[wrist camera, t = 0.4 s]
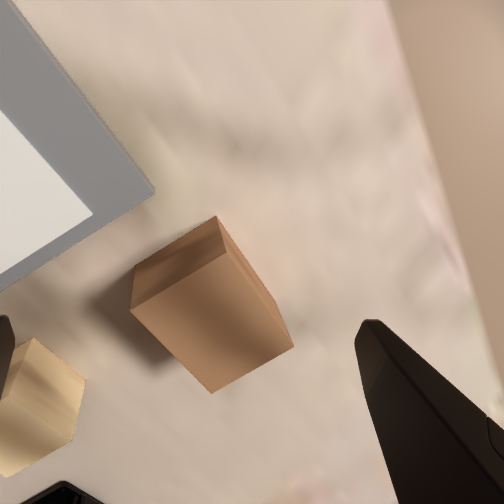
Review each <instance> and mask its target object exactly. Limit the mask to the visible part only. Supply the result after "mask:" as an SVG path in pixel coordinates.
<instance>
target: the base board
mask: <svg viewBox="0 0 504 504" xmlns="http://www.w3.org/2000/svg"><path fill="white" fill-rule="evenodd" d="M154 189H155V188H154V187H153V185H152V184H151V183H150V181H149V180H148V179H147V177H146V176H145V175H144V173H143V172H142V171H141V170H140V168H139V167H138V166H137V164H136V163H135V162H134V160H133V159H132V158H131V156H130V155H129V154H128V152H127V151H126V150H125V149H124V147H123V146H122V145H121V143H120V142H119V141H118V139H117V138H116V137H115V135H114V134H113V133H112V131H111V130H110V129H109V127H108V126H107V125H106V124H105V122H104V121H103V120H102V118H101V117H100V116H99V114H98V113H97V112H96V110H95V109H94V108H93V106H92V105H91V104H90V103H89V101H88V100H87V99H86V97H85V96H84V95H83V93H82V92H81V91H80V89H79V88H78V87H77V85H76V84H75V83H74V82H73V80H72V79H71V78H70V76H69V75H68V74H67V72H66V71H65V70H64V68H63V67H62V66H61V64H60V63H59V62H58V61H57V59H56V58H55V57H54V55H53V54H52V53H51V51H50V50H49V49H48V47H47V46H46V45H45V43H44V42H43V41H42V39H41V38H40V37H39V36H38V34H37V33H36V32H35V30H34V29H33V28H32V26H31V25H30V24H29V22H28V21H27V20H26V18H25V17H24V16H23V15H22V13H21V12H20V11H19V9H18V8H17V7H16V5H15V4H14V3H13V1H12V0H0V292H1V291H2V290H4V289H5V288H7V287H9V286H10V285H12V284H13V283H15V282H16V281H18V280H20V279H21V278H23V277H24V276H26V275H27V274H29V273H31V272H32V271H34V270H35V269H37V268H38V267H40V266H42V265H43V264H45V263H46V262H48V261H49V260H51V259H53V258H54V257H56V256H57V255H59V254H60V253H62V252H64V251H65V250H67V249H68V248H70V247H72V246H73V245H75V244H76V243H78V242H79V241H81V240H83V239H84V238H86V237H87V236H89V235H90V234H92V233H94V232H95V231H97V230H98V229H100V228H101V227H103V226H105V225H106V224H108V223H109V222H111V221H112V220H114V219H116V218H117V217H119V216H120V215H122V214H123V213H125V212H127V211H128V210H130V209H131V208H133V207H135V206H136V205H138V204H139V203H141V202H142V201H144V200H146V199H147V198H149V197H150V196H152V195H153V194H154Z"/></svg>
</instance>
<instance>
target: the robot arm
mask: <svg viewBox="0 0 504 504" xmlns="http://www.w3.org/2000/svg"><path fill="white" fill-rule="evenodd" d="M354 344H355V351H356V356H357V361H358V366H359V370H360V375H361V380H362V385H363V390H364V394H365V399H366V402H367V405H368V409H369V412H370V415H371V418H372V421H373V424H374V427H375V431H376V434H377V437H378V440H379V443H380V446H381V449H382V452H383V456H384V459H385V462H386V465H387V468H388V471H389V474H390V478H391V481H392V484H393V487H394V490H395V493H396V496H397V500H398V503H399V504H504V430H503V429H502V428H501V427H500V426H499V425H498V424H497V423H495V422H494V421H493V420H492V419H491V418H490V417H487V415H486V414H485V413H484V412H483V411H482V410H481V409H480V408H478V407H477V406H476V405H475V404H474V403H473V402H472V401H471V400H469V399H468V398H467V397H466V396H465V395H464V394H463V393H462V392H460V391H459V390H458V389H457V388H456V387H455V386H454V385H453V384H451V383H450V382H449V381H448V380H447V379H446V378H445V377H444V376H442V375H441V374H440V373H439V372H438V371H437V370H436V369H435V368H433V367H432V366H431V365H430V364H429V363H428V362H427V361H426V360H424V359H423V358H422V357H421V356H420V355H419V354H418V353H417V352H415V351H414V350H413V349H412V348H411V347H410V346H409V345H408V344H406V343H405V342H404V341H403V340H402V339H401V338H400V337H399V336H397V335H396V334H395V333H394V332H393V331H392V330H391V329H390V328H388V327H387V326H386V325H385V324H384V323H383V322H382V321H380V320H378V319H366V320H364V321H363V322H362V324H361V327H360V329H359V331H358V333H357V335H356V338H355V343H354ZM14 347H15V336H14V333H13V330H12V327H11V324H10V321H9V318H8V317H7V316H6V315H0V401H1V397H2V393H3V390H4V386H5V382H6V378H7V374H8V371H9V367H10V363H11V359H12V355H13V351H14ZM24 504H103V503H102V502H100V501H98V500H97V499H95V498H93V497H92V496H90V495H88V494H87V493H85V492H83V491H82V490H80V489H78V488H77V487H75V486H73V485H72V484H70V483H68V482H62V483H59V484H58V485H56V486H54V487H52V488H51V489H49V490H47V491H45V492H44V493H42V494H40V495H38V496H37V497H35V498H33V499H31V500H30V501H28V502H26V503H24Z"/></svg>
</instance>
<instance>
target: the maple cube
mask: <svg viewBox="0 0 504 504" xmlns="http://www.w3.org/2000/svg"><path fill="white" fill-rule="evenodd" d="M85 383H86V380H85V379H84V378H83V377H82V376H80V375H79V374H78V373H77V372H75V371H74V370H73V369H72V368H70V367H69V366H68V365H67V364H65V363H64V362H63V361H62V360H60V359H59V358H58V357H57V356H56V355H54V354H53V353H52V352H51V351H49V350H48V349H47V348H46V347H44V346H43V345H42V344H41V343H39V342H38V341H37V340H36V339H34V338H31V339H30V340H28V341H27V342H25V343H23V344H22V345H20V346H18V347H17V348H15V349H14V351H13V355H12V359H11V363H10V367H9V371H8V374H7V378H6V382H5V386H4V390H3V393H2V397H1V401H0V474H1V475H2V476H4V477H6V478H8V477H10V476H12V475H13V474H15V473H17V472H19V471H20V470H22V469H24V468H25V467H27V466H29V465H31V464H32V463H34V462H36V461H37V460H39V459H41V458H43V457H44V456H46V455H48V454H50V453H51V452H53V451H55V450H56V449H58V448H60V447H62V446H63V445H65V444H67V443H68V442H70V441H72V440H73V436H74V431H75V427H76V422H77V418H78V414H79V409H80V405H81V400H82V396H83V391H84V387H85Z"/></svg>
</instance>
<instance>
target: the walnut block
mask: <svg viewBox="0 0 504 504" xmlns="http://www.w3.org/2000/svg"><path fill="white" fill-rule="evenodd" d="M130 312H131V313H132V314H133V315H134V316H135V317H136V318H137V319H138V320H139V321H140V322H141V323H142V324H143V325H144V326H145V327H146V328H147V329H148V330H149V331H150V332H151V333H152V334H153V335H154V336H155V337H156V338H157V339H158V340H159V341H160V342H161V343H162V344H163V345H164V346H165V347H166V348H167V349H168V350H169V351H170V352H171V353H172V355H173V356H174V357H175V358H176V359H177V360H178V361H179V362H180V363H181V364H182V365H183V366H184V367H185V368H186V369H187V370H188V371H189V372H190V373H191V374H192V375H193V376H194V377H195V378H196V379H197V380H198V381H199V382H200V383H201V384H202V385H203V386H204V387H205V388H206V389H207V390H208V391H209V392H210V393H211V394H212V393H214V392H216V391H217V390H219V389H221V388H223V387H224V386H226V385H228V384H230V383H231V382H233V381H235V380H237V379H238V378H240V377H242V376H244V375H245V374H247V373H249V372H251V371H252V370H254V369H256V368H258V367H259V366H261V365H263V364H265V363H267V362H268V361H270V360H272V359H274V358H275V357H277V356H279V355H281V354H282V353H284V352H286V351H288V350H289V349H291V348H293V347H294V345H293V342H292V340H291V337H290V335H289V333H288V330H287V328H286V326H285V323H284V321H283V318H282V316H281V314H280V311H279V309H278V307H277V304H276V302H275V300H274V299H273V297H272V296H271V294H270V293H269V291H268V290H267V289H266V287H265V286H264V284H263V283H262V281H261V280H260V278H259V277H258V275H257V274H256V273H255V271H254V270H253V268H252V267H251V265H250V264H249V262H248V261H247V260H246V258H245V257H244V255H243V254H242V252H241V251H240V249H239V248H238V247H237V245H236V244H235V242H234V241H233V239H232V238H231V236H230V235H229V234H228V232H227V231H226V229H225V228H224V226H223V225H222V223H221V222H220V221H219V219H218V218H217V216H215V217H213V218H211V219H210V220H208V221H207V222H205V223H203V224H202V225H200V226H198V227H197V228H195V229H194V230H192V231H190V232H189V233H187V234H185V235H184V236H182V237H181V238H179V239H177V240H176V241H174V242H172V243H171V244H169V245H168V246H166V247H164V248H163V249H161V250H160V251H158V252H156V253H155V254H153V255H151V256H150V257H148V258H147V259H145V260H143V261H142V262H140V263H138V264H137V265H135V272H134V280H133V288H132V296H131V304H130Z"/></svg>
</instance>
